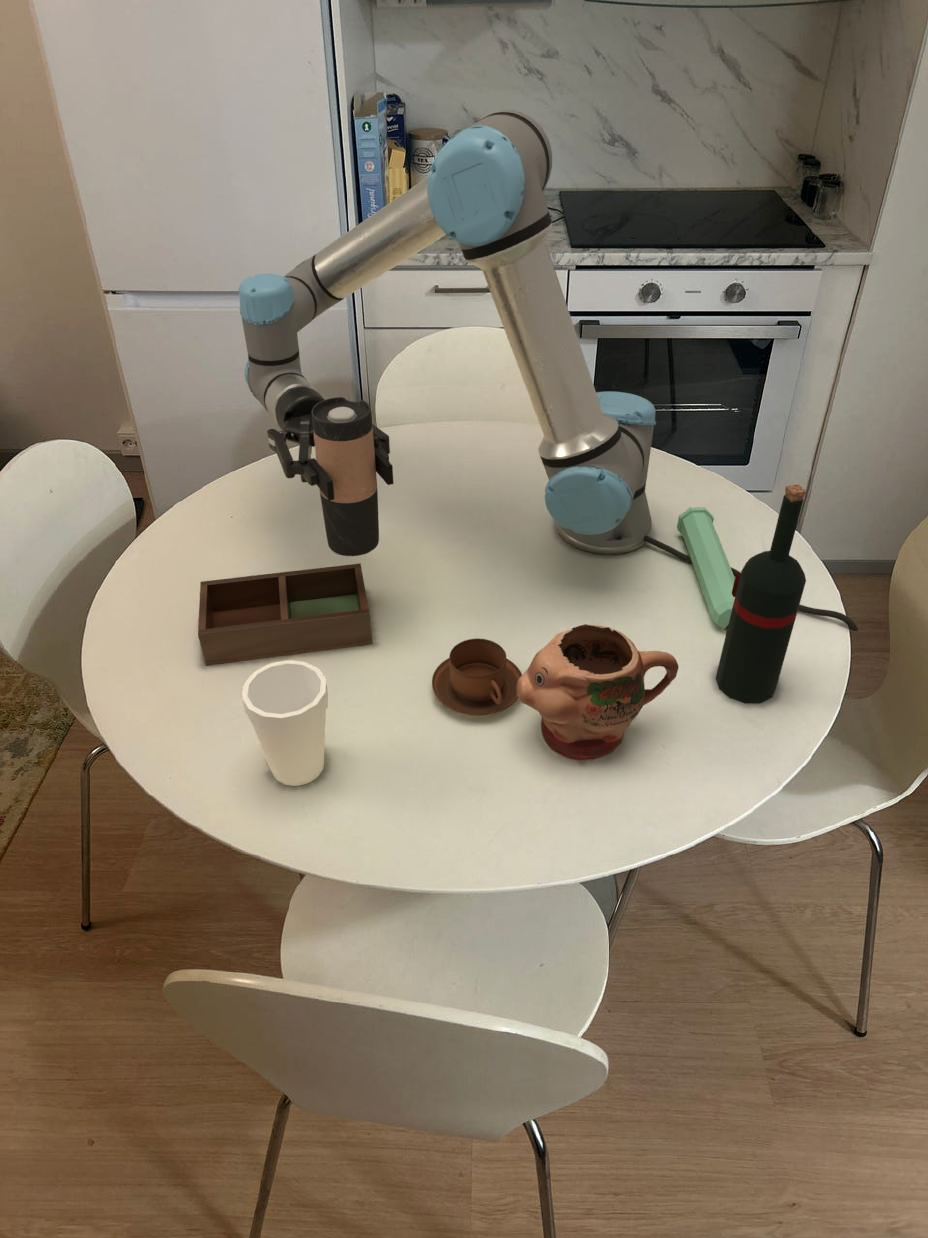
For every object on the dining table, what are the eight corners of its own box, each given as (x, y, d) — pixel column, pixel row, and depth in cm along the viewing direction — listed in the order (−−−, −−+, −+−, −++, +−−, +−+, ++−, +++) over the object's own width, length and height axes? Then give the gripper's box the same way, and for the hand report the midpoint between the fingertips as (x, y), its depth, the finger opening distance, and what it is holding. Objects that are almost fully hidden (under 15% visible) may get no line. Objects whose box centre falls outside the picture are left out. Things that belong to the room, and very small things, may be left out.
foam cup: (262, 739, 114) (246, 662, 106) (337, 735, 115) (327, 657, 107) (255, 799, 107) (238, 720, 99) (335, 793, 108) (324, 715, 100)
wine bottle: (748, 648, 128) (797, 457, 109) (787, 697, 120) (846, 501, 101) (697, 658, 126) (737, 466, 107) (733, 709, 118) (783, 512, 99)
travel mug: (337, 563, 123) (323, 428, 110) (317, 535, 128) (301, 403, 116) (389, 548, 126) (381, 415, 113) (368, 521, 131) (358, 391, 118)
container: (749, 600, 126) (708, 501, 145) (706, 613, 128) (672, 513, 147) (757, 629, 130) (716, 529, 149) (716, 642, 131) (681, 541, 150)
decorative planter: (643, 684, 122) (657, 601, 113) (686, 748, 113) (704, 664, 104) (501, 714, 118) (504, 631, 109) (534, 784, 109) (539, 700, 100)
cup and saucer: (541, 690, 121) (543, 655, 117) (480, 738, 114) (481, 703, 111) (474, 649, 128) (475, 615, 124) (413, 693, 121) (411, 658, 117)
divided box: (372, 644, 129) (369, 613, 125) (205, 665, 125) (197, 634, 122) (363, 593, 138) (360, 563, 134) (207, 611, 135) (200, 581, 131)
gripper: (366, 419, 138) (433, 489, 122) (234, 449, 131) (288, 528, 115) (363, 372, 133) (432, 438, 117) (226, 401, 126) (280, 476, 110)
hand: (360, 482), depth 116 cm, fingers closed on travel mug, 7 cm apart
